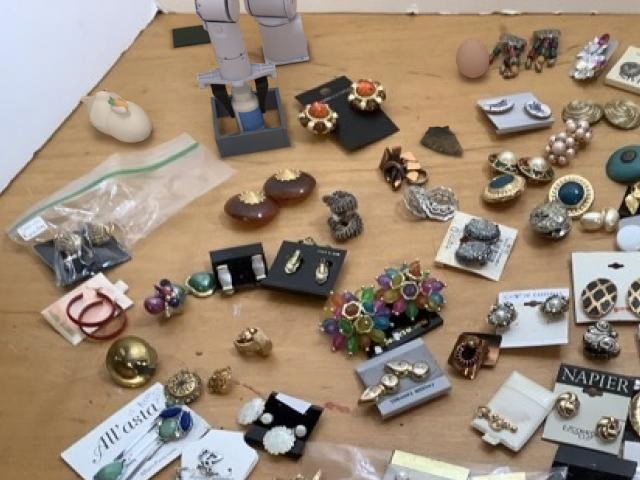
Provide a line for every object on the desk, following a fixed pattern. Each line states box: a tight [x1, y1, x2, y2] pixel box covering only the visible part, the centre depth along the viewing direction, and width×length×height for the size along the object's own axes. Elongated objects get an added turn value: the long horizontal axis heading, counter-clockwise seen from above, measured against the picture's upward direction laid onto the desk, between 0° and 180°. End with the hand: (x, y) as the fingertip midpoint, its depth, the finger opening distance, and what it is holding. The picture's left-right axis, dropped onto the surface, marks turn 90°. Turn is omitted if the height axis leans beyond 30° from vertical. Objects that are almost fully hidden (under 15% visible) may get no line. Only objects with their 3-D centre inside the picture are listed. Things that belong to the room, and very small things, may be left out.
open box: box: [209, 86, 291, 159], centre depth 162 cm, size 14×14×4 cm
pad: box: [171, 24, 212, 48], centre depth 183 cm, size 8×7×1 cm
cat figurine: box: [80, 87, 153, 144], centre depth 160 cm, size 10×8×15 cm
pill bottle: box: [230, 82, 267, 133], centre depth 160 cm, size 6×5×10 cm
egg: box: [455, 37, 490, 79], centre depth 173 cm, size 7×7×8 cm
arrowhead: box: [419, 125, 464, 155], centre depth 162 cm, size 7×10×1 cm
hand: (247, 112), depth 161 cm, fingers closed on pill bottle, 5 cm apart
